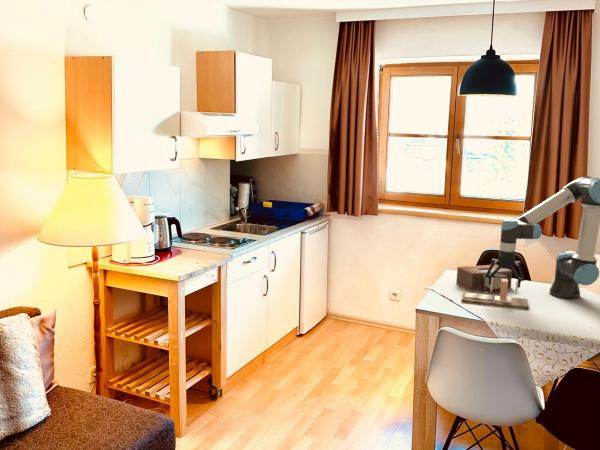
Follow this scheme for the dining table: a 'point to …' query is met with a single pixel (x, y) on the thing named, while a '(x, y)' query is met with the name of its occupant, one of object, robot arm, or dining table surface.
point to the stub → (503, 292)
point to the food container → (494, 282)
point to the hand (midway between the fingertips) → (503, 292)
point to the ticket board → (490, 300)
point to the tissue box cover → (478, 276)
